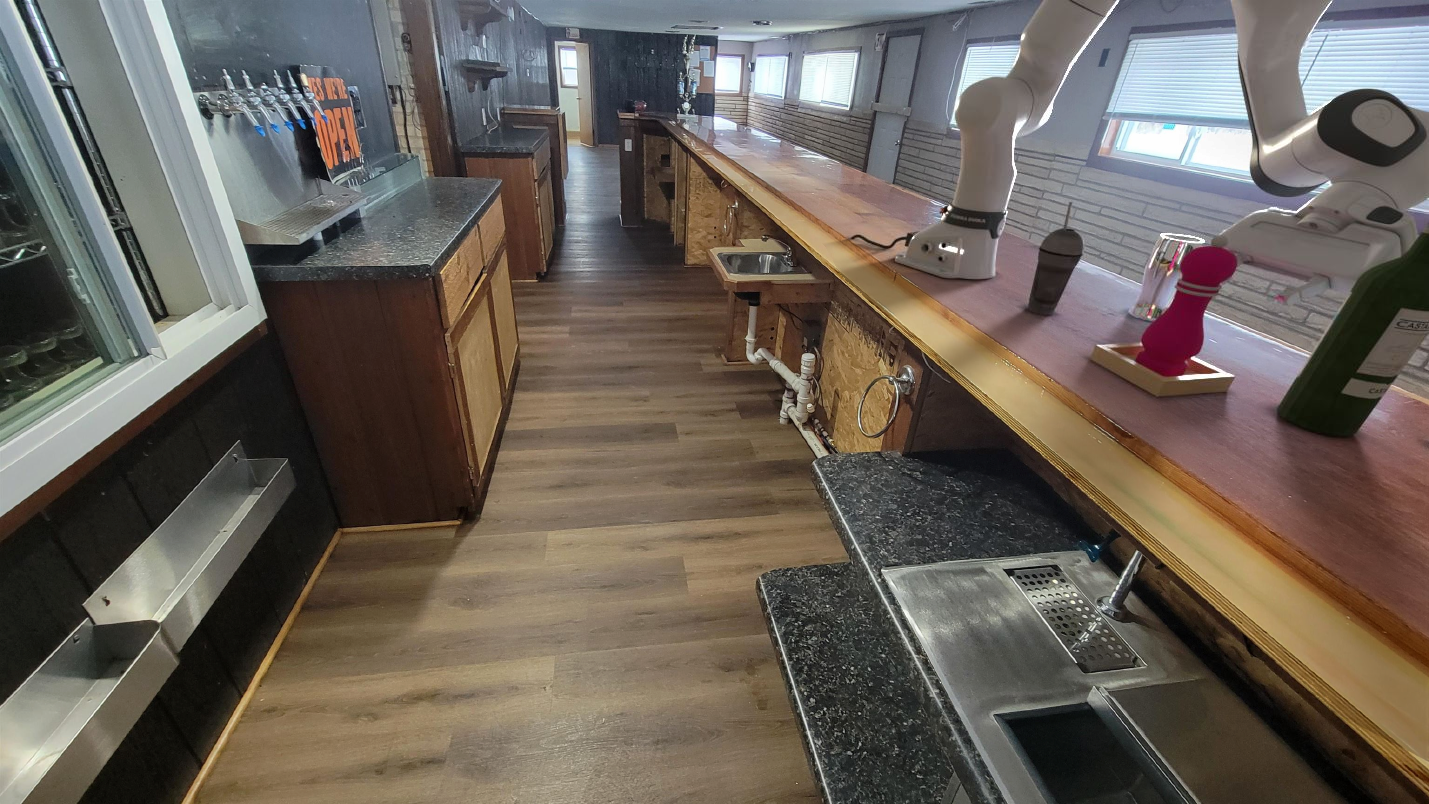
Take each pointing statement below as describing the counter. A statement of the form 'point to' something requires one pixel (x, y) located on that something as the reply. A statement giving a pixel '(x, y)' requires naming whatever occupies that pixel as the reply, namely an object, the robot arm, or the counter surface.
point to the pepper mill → (1187, 310)
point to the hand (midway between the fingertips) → (1247, 291)
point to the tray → (1192, 382)
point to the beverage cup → (1055, 267)
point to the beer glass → (1162, 275)
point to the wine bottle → (1363, 346)
